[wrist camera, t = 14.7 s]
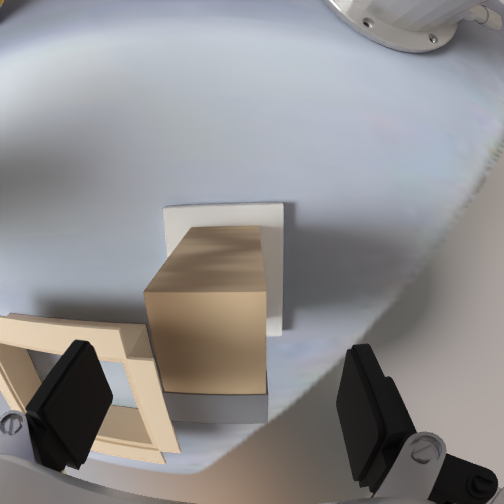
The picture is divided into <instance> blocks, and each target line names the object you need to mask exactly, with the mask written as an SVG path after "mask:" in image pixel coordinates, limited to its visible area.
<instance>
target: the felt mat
mask: <svg viewBox="0 0 504 504" xmlns="http://www.w3.org/2000/svg"><path fill="white" fill-rule="evenodd" d="M163 220H164V231H165V241H166V250H167V258H168V257H169V256H170V254H171V253H172V252H173V250H174V249H175V248H176V246H177V245H178V244H179V242H180V241H181V240H182V238H183V237H184V236H185V234H186V233H187V232H188V230H189V229H190V228H191V227H216V226H259V233H260V241H261V249H262V258H263V266H264V275H265V283H266V336H282V311H283V229H284V211H283V203H282V202H271V203H231V204H205V205H183V206H166V207H164V208H163Z"/></svg>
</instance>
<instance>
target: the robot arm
mask: <svg viewBox="0 0 504 504" xmlns="http://www.w3.org/2000/svg"><path fill="white" fill-rule="evenodd" d="M324 1H325V3H326V4H327V5H328V6H329V8H330V9H331V10H332V11H333V12H334V13H335V14H336V15H337V16H338V17H339V18H340V19H341V20H342V21H343V22H345V23H346V24H347V25H349V26H350V27H351V28H353V29H354V30H355V31H356V32H358V33H360V34H362V35H363V36H365V37H367V38H368V39H370V40H372V41H374V42H376V43H379V44H381V45H383V46H385V47H388V48H392V49H395V50H398V51H403V52H411V53H421V52H428V51H431V50H435V49H437V48H439V47H441V46H443V45H445V44H446V43H447V42H448V41H450V40H451V39H452V37H453V35H454V34H455V32H456V29H457V25H458V21H460V20H462V19H464V20H466V21H468V22H469V21H473V20H475V21H477V22H478V23H479V24H481V25H483V26H485V27H487V28H489V29H491V30H494V31H499V30H500V29H501V27H502V18H501V16H500V15H499V14H498V13H496V12H494V11H493V10H491V9H489V8H487V7H485V6H483V5H479V4H481V3H483V2H485V1H487V0H324ZM365 25H366V26H367V27H366V26H365ZM112 400H113V394H112V391H111V389H110V387H109V384H108V382H107V379H106V377H105V375H104V372H103V369H102V367H101V364H100V362H99V359H98V356H97V354H96V351H95V348H94V346H93V345H91V344H90V342H89V341H85V340H77V339H76V340H74V341H73V342H72V343H71V345H70V346H69V347H68V348H67V350H66V351H65V352H64V354H63V355H62V356H61V358H60V359H59V360H58V362H57V363H56V365H55V366H54V367H53V369H52V370H51V371H50V373H49V374H48V376H47V377H46V378H45V380H44V381H43V383H42V384H41V385H40V387H39V388H38V390H37V391H36V393H35V394H34V396H33V397H32V399H31V400H30V401H29V403H28V404H27V406H26V407H25V410H26V411H27V412H26V414H25V415H24V414H23V413H22V412H20V411H17V410H12V411H9V412H6V413H5V414H3V415H2V416H1V417H0V504H194V503H186V502H178V501H171V500H164V499H159V498H153V497H147V496H143V495H137V494H133V493H129V492H124V491H120V490H116V489H112V488H108V487H105V486H101V485H98V484H94V483H90V482H88V481H84V480H81V479H78V478H75V477H72V476H69V475H66V472H65V466H66V465H67V466H68V467H71V468H74V469H77V470H79V468H80V466H81V464H84V463H85V461H86V459H87V457H88V454H89V452H90V450H91V447H92V445H93V443H94V441H95V438H96V436H97V434H98V432H99V429H100V427H101V425H102V423H103V420H104V418H105V416H106V414H107V412H108V409H109V407H110V405H111V403H112ZM336 407H337V412H338V416H339V420H340V424H341V428H342V432H343V436H344V440H345V445H346V449H347V453H348V458H349V462H350V467H351V471H352V476H353V479H354V481H359V485H360V488H361V487H366V486H369V490H370V492H372V493H373V494H372V496H371V497H370V498H363V499H357V500H347V501H339V502H331V503H322V504H504V487H503V488H502V489H501V488H499V487H498V479H497V477H496V475H495V474H494V473H493V472H492V471H491V470H489V469H487V468H485V467H482V466H479V465H476V464H473V463H471V462H468V461H465V460H463V459H460V458H457V457H455V456H452V455H450V454H447V453H446V445H445V443H444V441H443V440H442V439H441V438H440V437H439V436H438V435H436V434H434V433H430V432H419V433H417V432H416V429H415V427H414V425H413V422H412V420H411V418H410V415H409V413H408V411H407V409H406V407H405V404H404V402H403V400H402V398H401V396H400V394H399V391H398V389H397V387H396V385H395V383H394V381H393V379H392V378H391V377H385V376H384V374H383V372H382V370H381V368H380V366H379V363H378V361H377V359H376V357H375V355H374V353H373V351H372V349H371V346H370V345H369V344H358V345H353V346H352V349H348V350H347V353H346V358H345V363H344V368H343V373H342V378H341V382H340V387H339V391H338V396H337V401H336Z"/></svg>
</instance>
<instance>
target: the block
mask: <svg viewBox="0 0 504 504" xmlns="http://www.w3.org/2000/svg"><path fill="white" fill-rule="evenodd" d="M143 293H144V299H145V305H146V310H147V316H148V321H149V326H150V331H151V336H152V340H153V345H154V350H155V354H156V358H157V363H158V367H159V371H160V375H161V379H162V383H163V387H164V388H163V391H162V394H163V398H164V401H165V405H166V408H167V412H168V415H169V419H170V421H181V422H197V423H224V424H255V423H268V385H267V371H266V283H265V275H264V266H263V258H262V249H261V241H260V233H259V226H216V227H191V228H190V229H189V230H188V232H187V233H186V234H185V236H184V237H183V238H182V240H181V241H180V242H179V244H178V245H177V246H176V248H175V249H174V250H173V252H172V253H171V254H170V256H169V257H168V258H167V260H166V261H165V263H164V264H163V265H162V267H161V268H160V269H159V271H158V272H157V274H156V275H155V276H154V278H153V279H152V281H151V282H150V283H149V285H148V286H147V288H146V289H145V290H144V292H143Z"/></svg>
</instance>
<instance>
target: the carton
mask: <svg viewBox="0 0 504 504" xmlns="http://www.w3.org/2000/svg"><path fill="white" fill-rule="evenodd" d="M76 339H77V340H85V341H89V342H90V344H91V345H93V346H94V348H95V351H96V354H97V356H98V359H99V360H103V361H112V362H122V363H123V366H124V369H125V372H126V375H127V378H128V381H129V384H130V387H131V390H132V393H133V396H134V398H135V401H136V404H137V407H138V409H135V408H128V407H120V406H114V405H110V407H109V409H108V412H107V414H106V416H105V418H104V420H103V423H102V425H101V427H100V429H99V432H98V434H97V436H96V438H95V441H94V443H93V445H92V447H91V451H95V452H99V453H103V454H108V455H112V456H117V457H122V458H128V459H133V460H139V461H146V462H153V463H160V464H166V461H165V459H164V456H163V454H162V452H171V453H181V448H180V445H179V442H178V439H177V436H176V433H175V430H174V427H173V424H172V421H170V419H169V415H168V412H167V408H166V405H165V401H164V398H163V394H162V391H163V390H162V386H161V382H160V378H159V375H158V371H157V367H156V363H155V358H153V355H152V351H151V346H150V342H149V337H148V333H147V328H146V324H130V323H111V322H95V321H81V320H69V319H58V318H48V317H39V316H30V315H21V314H13V313H9V314H8V315H7V316H0V390H1V392H2V394H3V396H4V397H5V399H6V401H7V403H8V404H9V406H10V408H11V409H12V410H17V411H20V412H22V413H23V414H24V415H25V414H26V412H27V411H26V410H25V407H26V406H27V404H28V403H29V401H30V400H31V399H32V397H33V396H34V394H35V393H36V391H37V390H38V388H39V387H40V385H41V384H42V382H41V380H40V378H39V376H38V374H37V371H36V369H35V367H34V365H33V363H32V360H31V358H30V356H29V353H28V351H27V349H31V350H36V351H42V352H47V353H53V354H59V355H63V354H64V352H65V351H66V350H67V348H68V347H69V346H70V345H71V343H72V342H73V341H74V340H76ZM161 451H162V452H161Z"/></svg>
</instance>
